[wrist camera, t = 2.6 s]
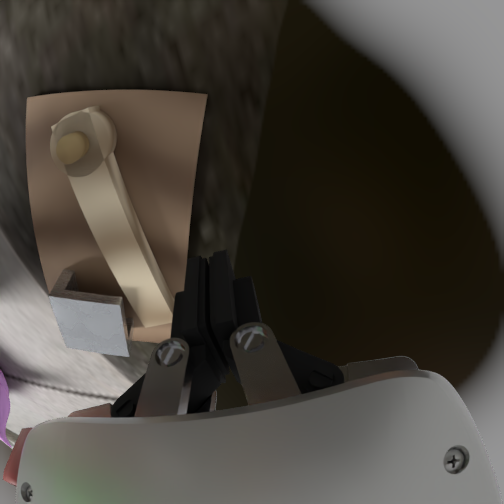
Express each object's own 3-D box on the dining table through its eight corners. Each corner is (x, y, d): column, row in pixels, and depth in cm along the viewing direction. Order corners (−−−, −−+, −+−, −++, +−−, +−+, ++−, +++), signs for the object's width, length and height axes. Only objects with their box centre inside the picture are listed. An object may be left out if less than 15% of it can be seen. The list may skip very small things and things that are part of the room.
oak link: (55, 123, 15) (31, 132, 12) (107, 98, 15) (88, 101, 12) (141, 313, 25) (136, 340, 22) (184, 304, 25) (183, 332, 22)
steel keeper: (134, 327, 26) (129, 356, 23) (76, 320, 24) (66, 347, 21) (128, 276, 23) (120, 305, 20) (63, 269, 21) (48, 295, 18)
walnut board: (182, 337, 29) (182, 344, 28) (63, 323, 26) (61, 330, 25) (207, 94, 17) (207, 94, 16) (33, 96, 14) (27, 97, 13)
